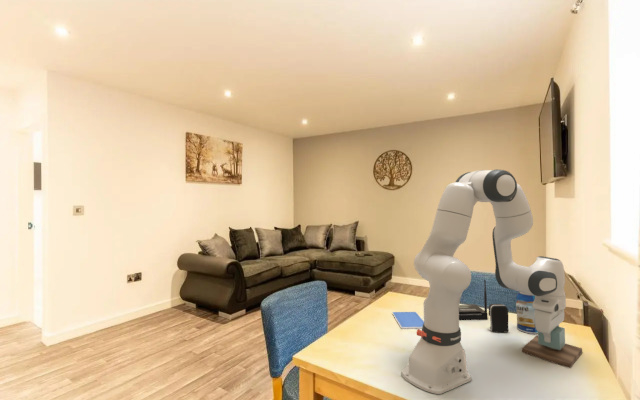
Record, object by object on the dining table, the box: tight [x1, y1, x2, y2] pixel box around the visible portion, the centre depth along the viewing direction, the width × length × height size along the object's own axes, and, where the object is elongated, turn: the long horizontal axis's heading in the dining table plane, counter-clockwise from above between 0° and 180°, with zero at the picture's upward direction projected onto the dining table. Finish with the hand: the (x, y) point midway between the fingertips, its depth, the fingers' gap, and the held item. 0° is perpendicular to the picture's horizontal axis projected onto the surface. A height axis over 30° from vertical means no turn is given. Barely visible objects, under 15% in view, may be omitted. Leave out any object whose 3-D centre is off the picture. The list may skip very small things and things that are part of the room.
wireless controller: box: [459, 279, 488, 321], centre depth 145 cm, size 20×14×17 cm
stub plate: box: [521, 335, 583, 369], centre depth 109 cm, size 16×14×5 cm
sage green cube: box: [537, 326, 566, 350], centre depth 109 cm, size 6×6×6 cm
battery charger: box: [488, 303, 509, 333], centre depth 128 cm, size 7×4×11 cm, turn 85°
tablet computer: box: [391, 311, 424, 330], centre depth 142 cm, size 19×13×1 cm, turn 179°
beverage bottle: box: [515, 291, 538, 335], centre depth 128 cm, size 8×8×20 cm
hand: (551, 338), depth 109 cm, fingers closed on sage green cube, 6 cm apart
